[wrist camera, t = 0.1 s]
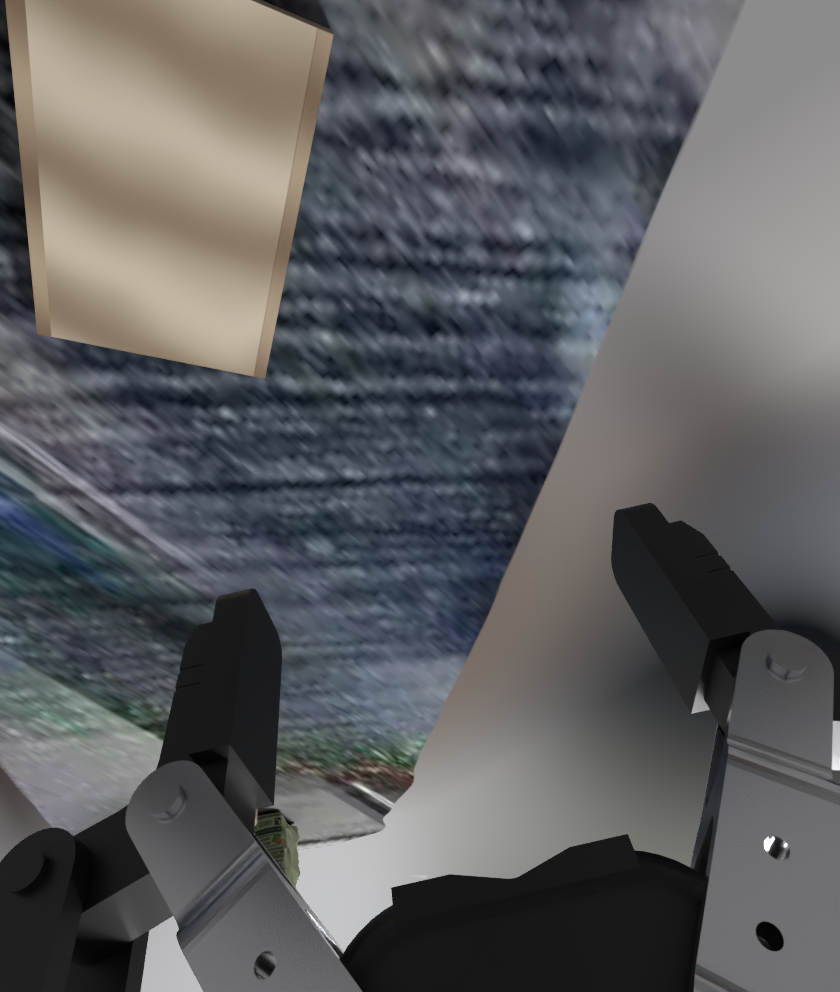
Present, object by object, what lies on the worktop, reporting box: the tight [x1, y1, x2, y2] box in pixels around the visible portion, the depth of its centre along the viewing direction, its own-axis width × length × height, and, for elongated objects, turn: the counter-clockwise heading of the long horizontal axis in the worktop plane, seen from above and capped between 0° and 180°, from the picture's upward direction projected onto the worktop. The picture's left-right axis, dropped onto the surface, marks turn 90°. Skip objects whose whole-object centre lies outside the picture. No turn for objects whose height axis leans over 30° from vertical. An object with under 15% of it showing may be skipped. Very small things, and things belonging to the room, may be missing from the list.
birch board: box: [5, 0, 333, 379], centre depth 26 cm, size 16×11×2 cm
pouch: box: [254, 813, 300, 887], centre depth 80 cm, size 11×12×25 cm
